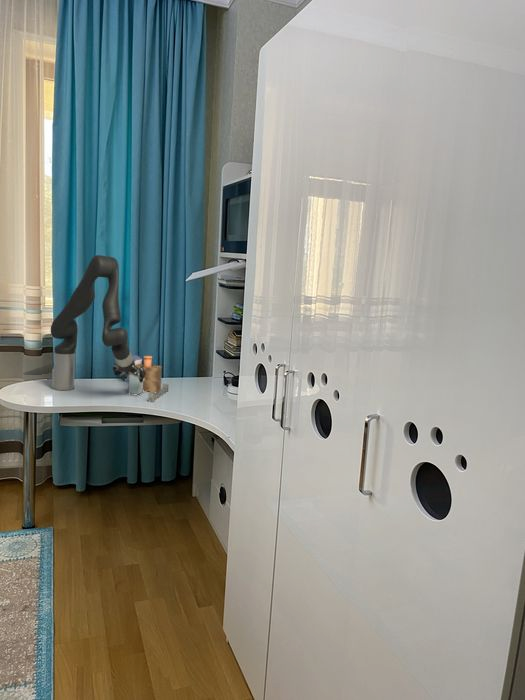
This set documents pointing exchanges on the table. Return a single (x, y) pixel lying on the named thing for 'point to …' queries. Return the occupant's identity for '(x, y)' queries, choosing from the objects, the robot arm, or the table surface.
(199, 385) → the table surface
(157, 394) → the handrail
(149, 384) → the end cabinet
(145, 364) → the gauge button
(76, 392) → the table surface
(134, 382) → the pale grey rectangular block
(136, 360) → the toy
